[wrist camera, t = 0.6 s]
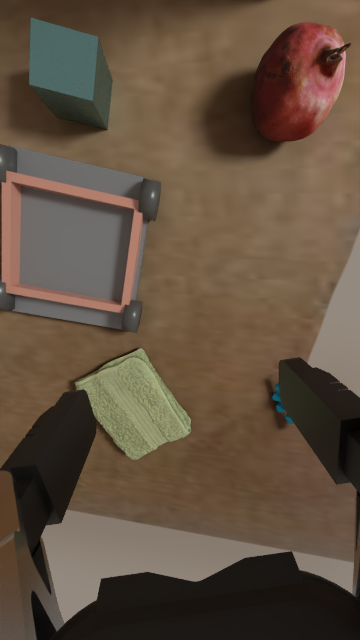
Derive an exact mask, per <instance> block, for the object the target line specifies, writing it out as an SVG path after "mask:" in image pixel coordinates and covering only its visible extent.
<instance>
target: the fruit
mask: <svg viewBox="0 0 360 640" xmlns="http://www.w3.org/2000/svg"><path fill="white" fill-rule="evenodd" d="M350 45H351V43H349V44H346V45H344V42H343V40H342V38H341V36H340V35H339V33H338V32H337V31H336V30H335V29H334V28H332V27H330V26H324V25H320V24H315V23H299V24H295V25H292V26H290V27H289V28H287V29H286V30H285V31H283V32H282V33H281V34H280V35H279V36H278V37H277V38H276V40H275V41H274V42H273V44H272V45H271V46H270V48H269V49H268V50H267V51H266V53H265V54H264V55H263V57H262V59H261V61H260V63H259V66H258V68H257V71H256V74H255V78H254V83H253V89H252V95H251V105H252V115H253V121H254V125H255V127H256V128H257V129H258V132H259V133H260V134H261V135H262V136H263V137H264V138H266V139H269V140H272V141H277V142H285V141H295V140H300V139H303V138H305V137H307V136H309V135H310V134H312V133H313V132H314V131H315V130H316V129H317V128H318V127H319V126H320V125H321V124H322V123H323V122H324V120H325V119H326V117H327V115H328V113H329V111H330V110H331V108H332V106H333V105H334V103H335V101H336V100H337V98H338V95H339V93H340V90H341V87H342V83H343V79H344V71H345V50H346V49H347V48H348V47H349V46H350Z"/></svg>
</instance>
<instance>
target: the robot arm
mask: <svg viewBox="0 0 360 640" xmlns="http://www.w3.org/2000/svg"><path fill="white" fill-rule="evenodd" d="M279 394H280V399H281V403H282V405H283V407H284V409H285V411H286V412H287V413H288V415H289V416H290V418H291V419H292V421H293V422H294V424H295V425H296V426H297V428H298V429H299V431H300V432H301V434H302V435H303V437H304V438H305V440H306V441H307V442H308V444H309V445H310V447H311V448H312V450H313V451H314V453H315V454H316V456H317V457H318V458H319V460H320V461H321V463H322V464H323V466H324V467H325V469H326V470H327V471H328V473H329V474H330V476H331V477H332V479H333V480H334V482H335V483H336V484H343V483H350V482H351V483H352V484H353V486H354V487H355V488H356V505H355V548H354V574H353V590H352V594H351V593H350V592H348V591H347V590H345V589H343V588H342V587H340V586H338V585H337V584H335V583H333V582H331V581H328V580H327V579H324V578H322V577H321V576H317V575H315V574H311V573H309V572H305V571H300V570H299V568H298V566H297V563H296V561H295V558H294V556H293V553H292V551H291V552H284V553H277V554H270V555H263V556H256V557H249V558H244V559H242V560H240V561H238V562H236V563H234V564H232V565H231V566H229V567H227V568H225V569H223V570H221V571H219V572H217V573H215V574H213V575H211V576H209V577H207V578H206V579H204V580H201V581H198V582H193V581H187V580H183V579H178V578H174V577H169V576H164V575H159V574H155V573H150V572H145V573H138V574H131V575H124V576H117V577H110V578H103V579H101V582H100V587H99V592H98V597H97V600H96V601H94V602H92V603H91V604H89V605H88V606H86V607H85V608H84V609H82V610H81V611H79V612H78V613H77V614H75V615H74V616H73V617H72V618H71V619H69V620H68V621H67V622H66V623H64V621H63V618H62V615H61V612H60V610H59V606H58V602H57V598H56V595H55V590H54V585H53V581H52V577H51V572H50V568H49V564H48V560H47V555H46V551H45V547H44V543H43V540H42V538H41V535H42V533H43V530H44V528H45V526H46V525H52V524H59V523H61V522H62V520H63V517H64V515H65V512H66V510H67V507H68V505H69V502H70V499H71V497H72V494H73V492H74V489H75V487H76V484H77V481H78V479H79V476H80V474H81V471H82V469H83V466H84V464H85V461H86V458H87V456H88V453H89V451H90V448H91V446H92V443H93V441H94V438H95V435H96V420H95V416H94V413H93V410H92V407H91V403H90V400H89V397H88V394H87V392H86V390H84V389H82V390H76V391H69V392H65V393H63V395H62V396H61V397H60V399H59V400H58V402H57V403H56V404H55V406H52V407H51V408H50V409H48V410H47V411H46V412H45V413H43V414H42V415H41V416H40V417H39V418H38V420H37V421H36V422H35V424H34V425H33V426H32V429H30V430H29V432H28V433H27V434H26V437H25V438H23V439H22V441H21V442H20V443H19V445H18V446H17V447H16V449H15V450H14V451H13V453H12V454H11V455H10V457H9V458H8V459H7V461H6V462H5V463H4V465H3V466H2V467H1V469H0V640H360V398H359V397H358V396H357V395H355V394H354V393H353V392H352V391H351V390H348V388H347V387H346V386H345V385H343V384H342V383H340V382H339V381H338V380H337V379H336V378H335V377H334V376H332V375H331V374H330V373H327V372H325V371H323V370H321V369H319V368H312V367H311V366H310V365H308V364H307V363H306V362H305V361H304V360H303V359H301V358H300V357H298V358H291V359H285V360H280V362H279Z"/></svg>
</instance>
